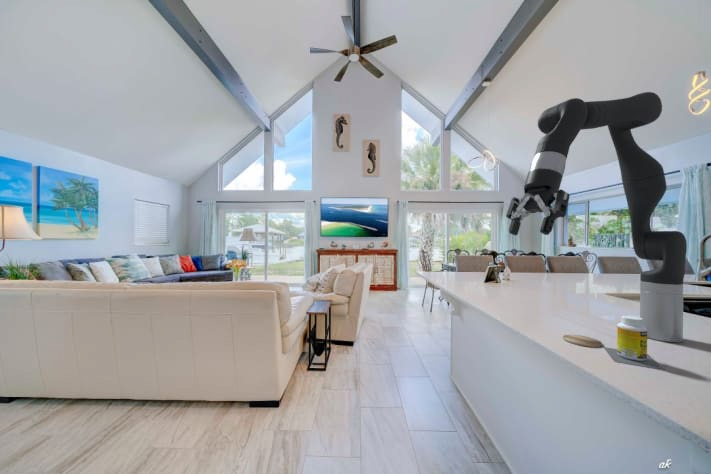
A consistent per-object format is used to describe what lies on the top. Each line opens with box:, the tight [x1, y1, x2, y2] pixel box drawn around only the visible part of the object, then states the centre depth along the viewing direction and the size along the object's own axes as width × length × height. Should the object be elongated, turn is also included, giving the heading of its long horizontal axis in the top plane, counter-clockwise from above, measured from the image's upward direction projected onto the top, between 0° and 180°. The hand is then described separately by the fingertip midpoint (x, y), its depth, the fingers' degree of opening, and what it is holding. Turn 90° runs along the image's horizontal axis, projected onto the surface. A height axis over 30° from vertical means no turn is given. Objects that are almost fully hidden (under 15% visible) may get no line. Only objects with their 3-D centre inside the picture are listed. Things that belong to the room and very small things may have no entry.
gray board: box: [603, 346, 666, 372], centre depth 74 cm, size 11×9×1 cm
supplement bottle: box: [616, 315, 648, 361], centre depth 74 cm, size 6×6×10 cm
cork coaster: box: [562, 334, 603, 348], centre depth 85 cm, size 9×9×1 cm
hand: (527, 234), depth 71 cm, fingers open, 8 cm apart
